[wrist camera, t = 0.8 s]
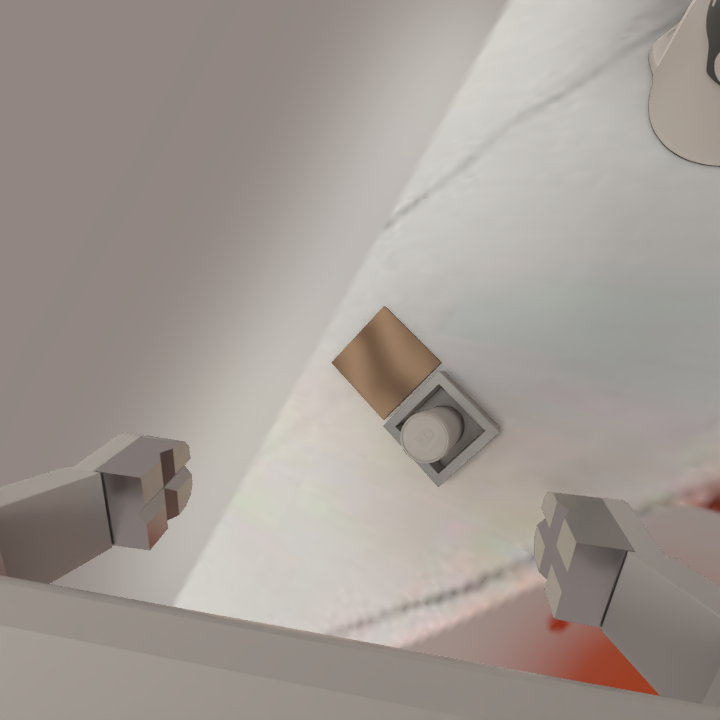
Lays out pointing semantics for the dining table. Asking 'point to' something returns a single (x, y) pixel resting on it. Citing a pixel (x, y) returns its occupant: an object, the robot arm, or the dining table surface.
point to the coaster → (385, 362)
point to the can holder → (443, 380)
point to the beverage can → (431, 433)
